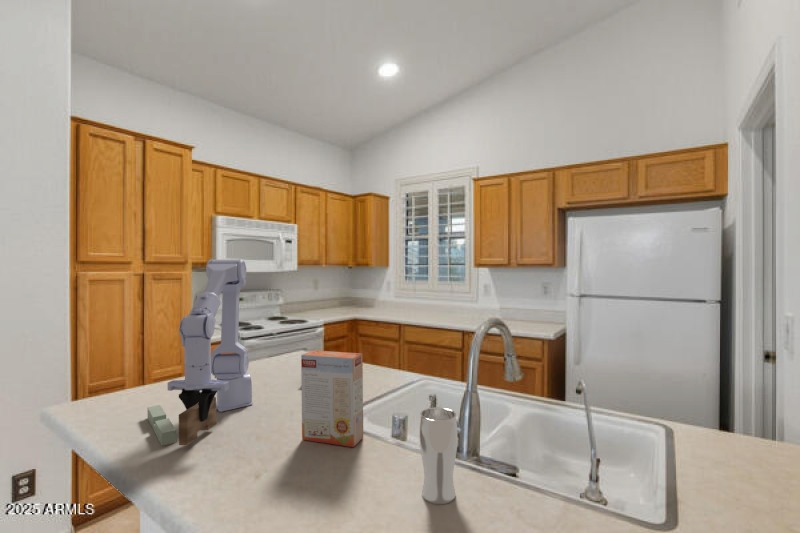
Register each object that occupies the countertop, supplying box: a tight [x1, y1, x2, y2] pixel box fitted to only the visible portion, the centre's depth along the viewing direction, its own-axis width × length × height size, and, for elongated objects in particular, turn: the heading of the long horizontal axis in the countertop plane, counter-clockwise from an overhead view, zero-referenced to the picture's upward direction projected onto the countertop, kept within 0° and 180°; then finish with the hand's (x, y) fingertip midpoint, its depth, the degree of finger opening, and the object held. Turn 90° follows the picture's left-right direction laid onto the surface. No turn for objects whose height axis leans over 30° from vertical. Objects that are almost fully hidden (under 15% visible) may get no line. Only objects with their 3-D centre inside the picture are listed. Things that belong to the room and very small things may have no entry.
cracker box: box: [300, 349, 364, 448], centre depth 97 cm, size 14×6×21 cm, turn 71°
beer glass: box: [418, 406, 458, 505], centre depth 73 cm, size 7×7×15 cm
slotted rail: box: [147, 404, 177, 447], centre depth 103 cm, size 3×22×3 cm, turn 40°
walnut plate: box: [178, 396, 217, 446], centre depth 97 cm, size 12×2×7 cm, turn 175°
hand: (198, 419), depth 97 cm, fingers closed on walnut plate, 2 cm apart
